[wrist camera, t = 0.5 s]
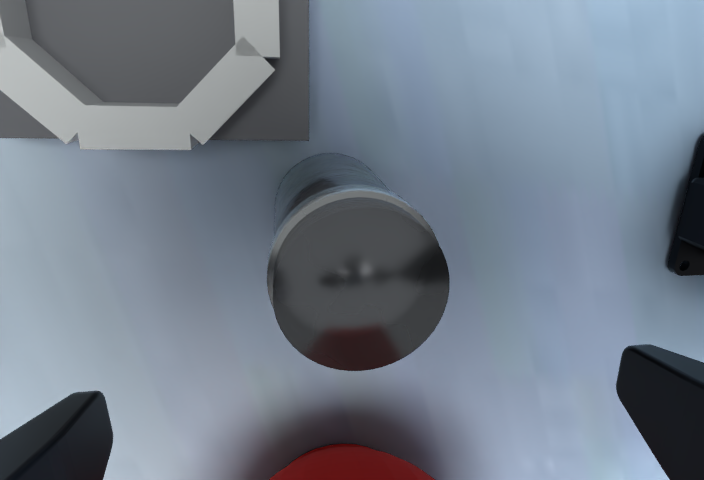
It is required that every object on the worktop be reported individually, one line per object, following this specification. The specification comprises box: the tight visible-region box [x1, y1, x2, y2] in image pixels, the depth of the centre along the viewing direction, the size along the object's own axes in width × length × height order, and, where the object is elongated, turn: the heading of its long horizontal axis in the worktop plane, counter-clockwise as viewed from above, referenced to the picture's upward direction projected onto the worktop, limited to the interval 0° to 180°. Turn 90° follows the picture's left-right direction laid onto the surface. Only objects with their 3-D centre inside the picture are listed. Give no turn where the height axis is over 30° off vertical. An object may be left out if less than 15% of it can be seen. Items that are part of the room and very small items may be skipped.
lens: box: [267, 153, 449, 371], centre depth 16 cm, size 5×5×8 cm
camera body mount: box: [0, 0, 309, 150], centre depth 14 cm, size 10×8×4 cm
